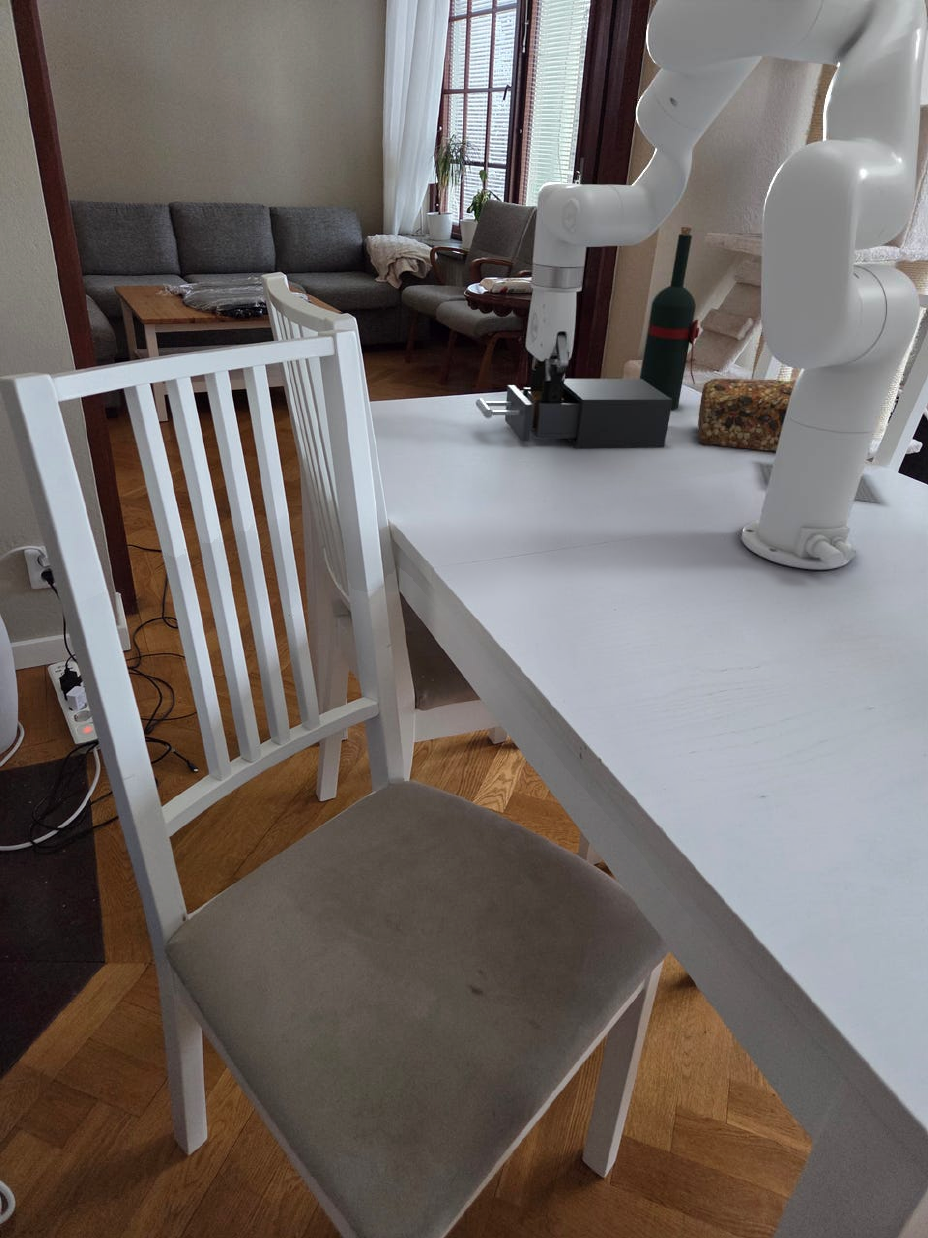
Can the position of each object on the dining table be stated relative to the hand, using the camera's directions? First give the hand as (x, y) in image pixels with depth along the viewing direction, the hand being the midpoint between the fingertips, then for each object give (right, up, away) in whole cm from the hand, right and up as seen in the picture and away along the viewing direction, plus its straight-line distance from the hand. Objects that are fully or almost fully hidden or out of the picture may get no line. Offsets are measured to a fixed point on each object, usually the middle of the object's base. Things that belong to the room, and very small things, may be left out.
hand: (545, 399), depth 130 cm
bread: (+35, -6, +6) cm, 36 cm away
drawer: (-1, -4, +2) cm, 5 cm away
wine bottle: (+24, +5, +23) cm, 33 cm away
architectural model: (+39, -15, -10) cm, 42 cm away
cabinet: (+11, -4, +5) cm, 13 cm away
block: (0, -3, +2) cm, 4 cm away
